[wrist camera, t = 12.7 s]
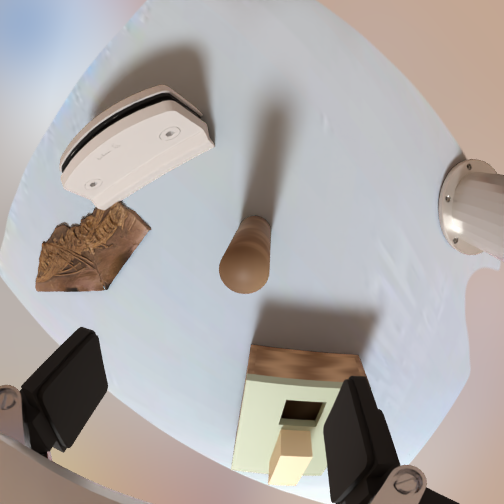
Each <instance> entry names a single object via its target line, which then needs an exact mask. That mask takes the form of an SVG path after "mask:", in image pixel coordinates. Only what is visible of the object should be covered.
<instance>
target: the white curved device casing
mask: <svg viewBox="0 0 504 504" xmlns="http://www.w3.org/2000/svg"><path fill="white" fill-rule="evenodd" d="M201 116H203V115H202V113H201V112H200V111H199V110H198V109H197V108H196V107H195V106H194V105H192V104H191V103H190V102H188V101H187V100H186V99H184V98H183V97H182V96H180V95H179V94H178V93H176V92H175V91H174V90H172V89H171V88H170V87H168V86H166V85H158V86H155V87H152V88H149V89H146V90H143V91H141V92H139V93H136V94H134V95H132V96H130V97H128V98H126V99H124V100H122V101H120V102H118V103H116V104H115V105H113V106H111V107H110V108H108V109H107V110H105V111H104V112H102V113H101V114H100V115H98V116H97V117H95V118H94V119H93V120H92V121H91V122H90V123H88V124H87V125H86V126H85V127H84V128H83V129H82V130H81V131H80V132H79V133H78V134H77V135H76V136H75V137H74V139H73V140H72V141H71V142H70V144H69V145H68V147H67V148H66V150H65V151H64V153H63V155H62V157H61V159H60V167H59V169H60V171H61V172H62V173H63V174H62V175H61V181H62V184H63V187H64V189H65V190H68V191H70V192H73V193H75V194H77V195H80V196H82V197H85V198H87V199H90V200H91V201H92V202H93V204H94V205H95V206H96V207H97V208H98V209H101V210H106V209H108V208H109V207H110V206H112V205H113V204H115V203H116V202H120V201H122V200H123V199H125V198H126V197H128V196H130V195H131V194H133V193H134V192H136V191H137V190H139V189H141V188H142V187H144V186H146V185H147V184H149V183H151V182H152V181H154V180H156V179H157V178H159V177H161V176H162V175H164V174H166V173H168V172H169V171H171V170H173V169H175V168H176V167H178V166H180V165H182V164H184V163H185V162H187V161H189V160H191V159H193V158H195V157H197V156H198V155H200V154H202V153H204V152H206V151H208V150H210V149H212V148H214V147H215V145H214V142H213V141H212V140H211V139H210V138H209V133H208V127H207V124H206V123H205V122H203V121H202V120H201Z"/></svg>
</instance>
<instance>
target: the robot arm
mask: <svg viewBox="0 0 504 504" xmlns="http://www.w3.org/2000/svg"><path fill="white" fill-rule="evenodd" d="M438 209H439V220H440V225H441V229H442V232H443V234H444V236H445V238H446V240H447V242H448V243H449V244H450V245H451V246H452V247H453V248H454V249H456V250H457V251H459V252H461V253H463V254H466V255H476V254H479V253H482V252H486V253H488V254H490V255H492V256H494V257H495V258H497V259H499V260H501V261H503V262H504V175H500V174H497V172H496V171H495V170H494V169H493V168H492V167H491V166H490V165H489V164H487V163H486V162H484V161H481V160H473V159H470V160H464V161H462V162H460V163H458V164H457V165H456V166H455V167H453V169H452V170H451V171H450V172H449V173H448V175H447V177H446V179H445V181H444V183H443V186H442V189H441V193H440V197H439V208H438ZM21 388H22V389H21V390H20V391H19V390H18V389H17V388H15V387H14V386H11V385H2V386H0V504H152V503H149V502H146V501H142V500H140V499H136V498H134V497H131V496H128V495H125V494H122V493H120V492H117V491H115V490H112V489H109V488H107V487H105V486H102V485H100V484H97V483H95V482H93V481H90V480H89V479H86V478H84V477H82V476H80V475H77V474H76V473H73V472H72V471H70V470H68V469H66V468H64V467H62V466H60V465H58V464H56V463H55V462H53V461H52V457H51V452H50V450H51V448H52V447H54V448H56V449H58V450H60V451H61V452H65V450H66V448H70V447H71V446H72V445H73V443H74V441H75V440H76V438H77V437H78V435H79V434H80V432H81V430H82V429H83V427H84V426H85V424H86V422H87V421H88V419H89V418H90V416H91V415H92V413H93V412H94V410H95V409H96V407H97V405H98V404H99V403H100V401H101V399H102V398H103V396H104V395H105V393H106V392H107V389H108V383H107V378H106V374H105V369H104V365H103V360H102V354H101V349H100V343H99V338H98V336H97V335H96V334H95V332H94V331H93V330H90V329H87V328H84V327H80V328H78V329H77V330H76V331H75V332H74V333H73V334H72V335H71V336H70V337H69V338H68V339H67V340H66V341H65V342H64V343H63V344H62V345H61V346H60V347H59V348H58V349H57V350H56V351H55V352H54V353H53V354H52V355H51V356H50V357H49V358H48V359H47V360H46V361H45V362H44V363H43V364H42V365H41V366H40V367H39V368H38V369H37V370H36V371H35V372H34V373H33V374H32V375H31V376H30V377H29V378H28V379H27V381H26V382H25V383H24V384H23V385H22V386H21ZM323 435H324V443H325V451H326V459H327V468H328V477H329V486H330V496H331V501H332V503H336V504H459V503H457V502H455V501H453V500H451V499H449V498H447V497H445V496H443V495H440V494H438V493H436V492H434V491H432V490H430V489H429V488H427V487H426V485H427V481H426V477H425V475H424V473H423V472H422V471H421V470H420V469H418V468H417V467H414V466H411V465H402V466H400V463H399V460H398V456H397V453H396V450H395V447H394V444H393V441H392V438H391V435H390V432H389V429H388V426H387V423H386V420H385V417H384V414H383V412H382V411H381V410H380V409H378V408H377V405H376V402H375V399H374V397H373V394H372V391H371V388H370V385H369V383H368V380H367V378H366V377H365V376H350V377H349V379H345V380H344V382H343V384H342V386H341V388H340V391H339V393H338V395H337V398H336V400H335V402H334V404H333V407H332V409H331V411H330V413H329V415H328V417H327V419H326V421H325V424H324V427H323Z"/></svg>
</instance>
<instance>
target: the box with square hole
mask: <svg viewBox="0 0 504 504" xmlns="http://www.w3.org/2000/svg"><path fill="white" fill-rule="evenodd" d="M247 373H248V374H256V375H264V376H272V377H281V378H291V379H302V380H315V381H331V382H344V380H345V379H349V377H350V376H365V377H366V378H367V376H366V374H365V371H364V368H363V366H362V363H361V360H360V358H359V355H351V354H336V353H323V352H312V351H301V350H292V349H283V348H275V347H267V346H259V345H252V344H251V348H250V354H249V361H248V367H247ZM247 373H246V377H247ZM367 380H368V379H367ZM245 383H246V379H245ZM368 383H369V382H368ZM244 390H245V385H244ZM243 396H244V392H243ZM242 402H243V398H242ZM322 403H323V402H309V401H295V400H286V402H285V405H284V408H283V412H282V415H281V418H284V419H298V420H316V418H317V415H318V413H319V411H320V408H321V406H322ZM241 408H242V404H241ZM240 414H241V410H240ZM239 420H240V416H239ZM238 425H239V422H238ZM237 431H238V428H237ZM236 437H237V434H236ZM235 443H236V440H235ZM234 449H235V446H234ZM233 454H234V453H233ZM232 460H233V459H232Z"/></svg>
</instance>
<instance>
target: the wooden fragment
mask: <svg viewBox="0 0 504 504" xmlns="http://www.w3.org/2000/svg"><path fill="white" fill-rule="evenodd" d="M149 230H151V228H149V227H148V226H147V225H146V224H145V223H144V221H143V220H142V219H141V218H140V217H139V216H138V214H137V213H136V212H135V211H133V210H130V209H129V210H128V209H127V208H126V207H125V206H124V205H123V204H122V203H121V202H116V203H115V204H113V205H112V206H110V207H109V208H108V209H106V210H101V209H98V208H96V209H95V210H94V211H93V214H92V215H90V216H87V217H86V218H84V219H81V226H74V227H71V228H70V227H67V226H65V225H61V226H59V227H57V228H55V231H54V233H53V234H52V236H51V237H50V239H49V240H48V241H47V242H46V243H42V250H41V254H40V258H39V267H38V276H37V278H36V286H35V287H36V291H45V292H48V291H49V292H50V291H52V292H53V291H64V292H71V291H72V292H78V291H79V292H80V291H102V290H105V289H106V290H107V289H108V288H109V286H110V284H111V283H112V281H113V280H114V278H115V277H116V275H117V274H118V272H119V271H120V270H121V268H122V267H123V265H124V264H125V262H126V261H127V260H128V258H129V257H130V255H131V254H132V253H133V251H134V250H135V249H136V247H137V246H138V245H139V243H140V242H141V241H142V239H143V238H144V236H145V235H146V234H147V232H148V231H149ZM103 285H104V287H105V289H104V288H103Z"/></svg>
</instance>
